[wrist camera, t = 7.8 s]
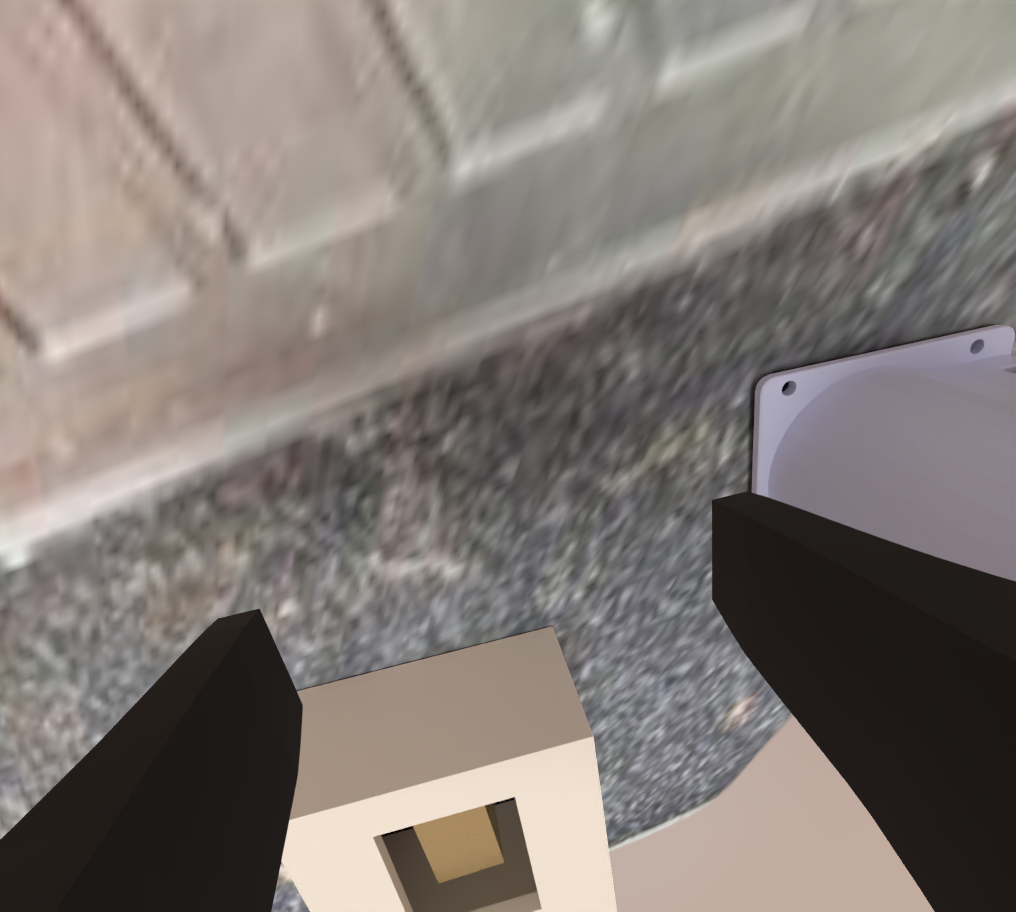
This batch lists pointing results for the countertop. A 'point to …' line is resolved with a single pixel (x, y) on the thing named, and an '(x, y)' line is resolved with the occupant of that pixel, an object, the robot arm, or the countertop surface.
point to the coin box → (450, 784)
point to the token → (462, 842)
